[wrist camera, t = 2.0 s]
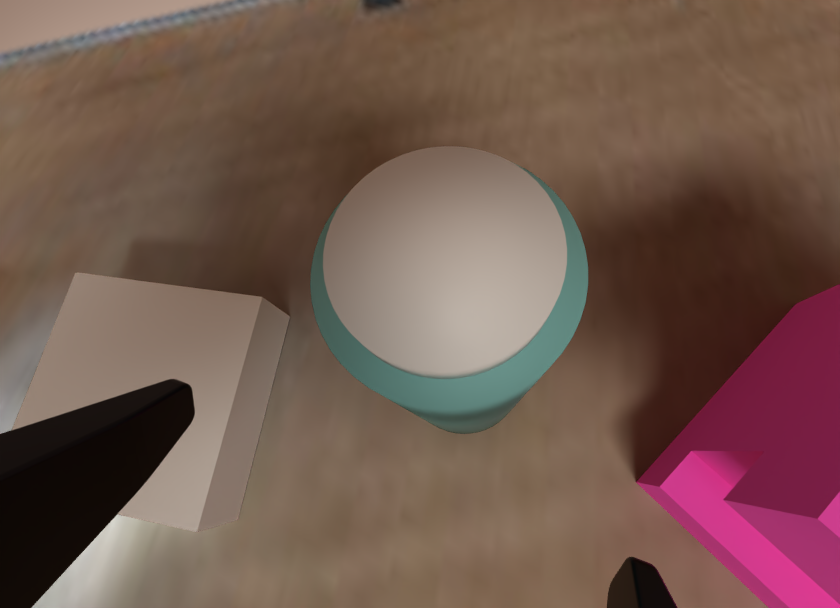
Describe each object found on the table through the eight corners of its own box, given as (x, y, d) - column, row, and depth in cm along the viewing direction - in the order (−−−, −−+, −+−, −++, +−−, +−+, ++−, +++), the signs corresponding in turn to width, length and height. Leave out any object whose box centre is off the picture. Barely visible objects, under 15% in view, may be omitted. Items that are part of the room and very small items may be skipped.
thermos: (514, 443, 19) (590, 431, 6) (397, 422, 20) (260, 378, 7) (526, 327, 20) (608, 131, 8) (416, 312, 21) (330, 114, 9)
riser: (237, 520, 19) (196, 532, 17) (55, 480, 21) (-11, 485, 18) (290, 316, 22) (262, 297, 19) (124, 293, 23) (75, 272, 20)
